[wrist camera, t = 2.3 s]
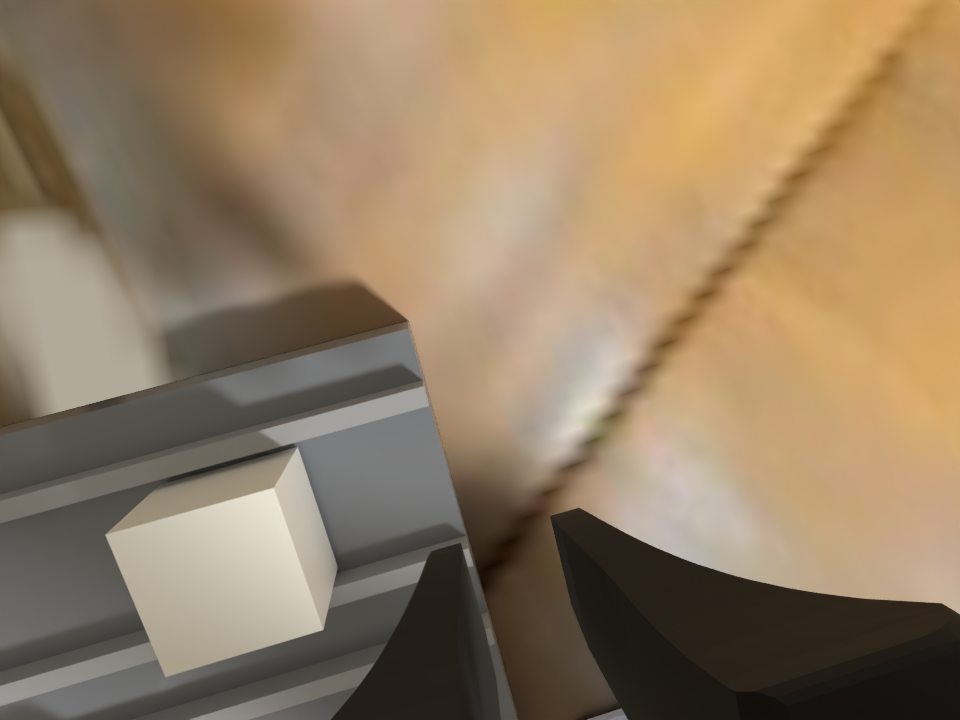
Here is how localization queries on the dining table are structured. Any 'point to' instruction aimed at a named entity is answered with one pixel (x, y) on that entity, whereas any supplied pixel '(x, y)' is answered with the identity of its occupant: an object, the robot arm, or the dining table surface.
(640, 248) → the dining table surface
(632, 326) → the dining table surface
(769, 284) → the dining table surface
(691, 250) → the dining table surface
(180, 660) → the switch tab
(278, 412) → the switch board
